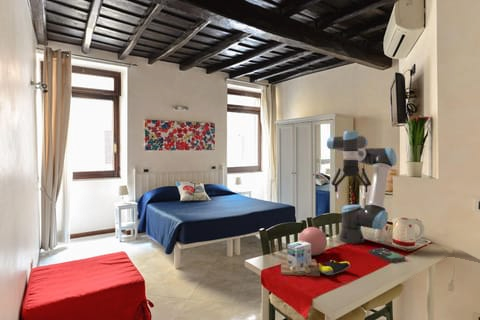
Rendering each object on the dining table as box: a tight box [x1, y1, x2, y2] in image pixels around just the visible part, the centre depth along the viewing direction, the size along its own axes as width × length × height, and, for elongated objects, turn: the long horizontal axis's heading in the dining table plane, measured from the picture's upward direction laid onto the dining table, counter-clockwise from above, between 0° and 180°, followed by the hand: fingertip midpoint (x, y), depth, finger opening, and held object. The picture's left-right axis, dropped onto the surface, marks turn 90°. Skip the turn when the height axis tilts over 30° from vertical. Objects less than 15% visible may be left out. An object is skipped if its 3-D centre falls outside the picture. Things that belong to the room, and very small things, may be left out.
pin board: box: [280, 257, 321, 277], centre depth 139 cm, size 18×18×4 cm
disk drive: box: [368, 247, 406, 263], centre depth 153 cm, size 10×3×15 cm
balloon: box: [298, 226, 328, 256], centre depth 158 cm, size 15×20×15 cm
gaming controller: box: [317, 259, 351, 276], centre depth 132 cm, size 15×6×10 cm
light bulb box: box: [286, 240, 312, 269], centre depth 139 cm, size 11×7×11 cm, turn 124°
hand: (350, 198), depth 151 cm, fingers open, 13 cm apart
